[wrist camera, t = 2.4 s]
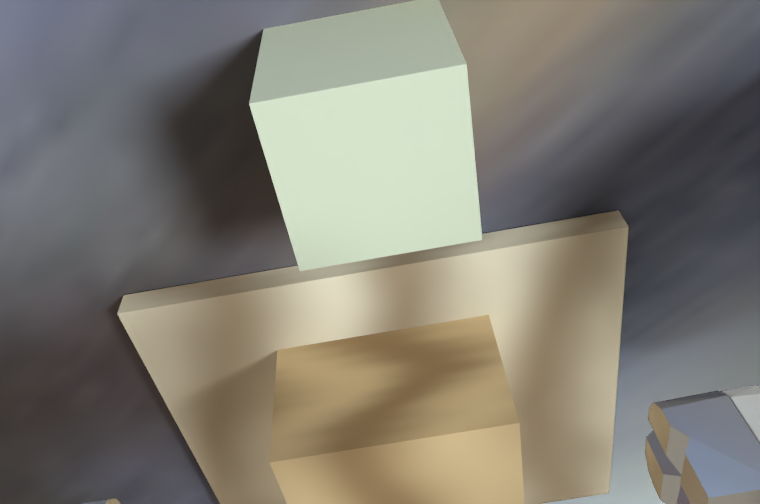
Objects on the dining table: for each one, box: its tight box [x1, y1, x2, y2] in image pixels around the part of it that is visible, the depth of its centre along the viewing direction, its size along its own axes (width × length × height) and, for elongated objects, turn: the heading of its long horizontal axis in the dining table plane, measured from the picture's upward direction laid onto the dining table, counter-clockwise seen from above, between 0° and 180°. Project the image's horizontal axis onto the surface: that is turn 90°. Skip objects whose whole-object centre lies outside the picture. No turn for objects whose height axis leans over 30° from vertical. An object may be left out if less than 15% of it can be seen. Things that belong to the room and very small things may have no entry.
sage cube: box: [249, 0, 482, 271], centre depth 19 cm, size 5×5×5 cm
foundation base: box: [117, 210, 629, 504], centre depth 27 cm, size 18×16×6 cm
